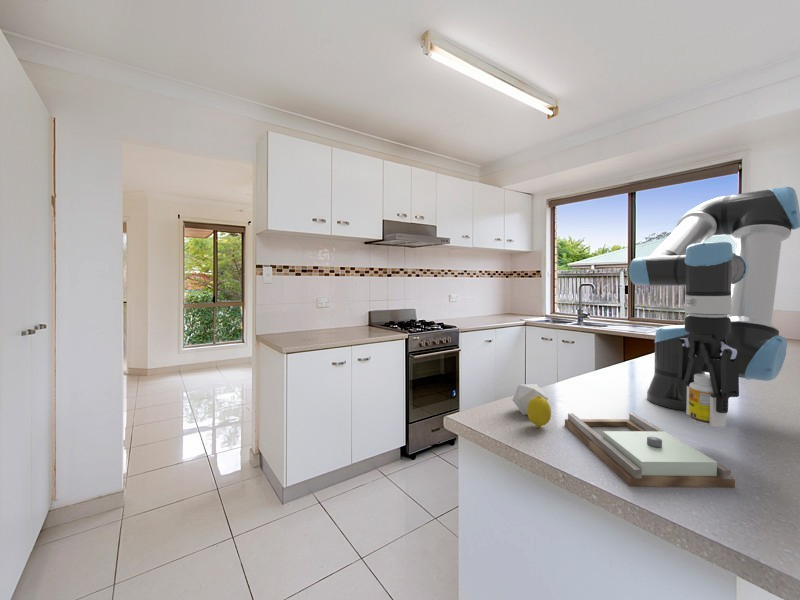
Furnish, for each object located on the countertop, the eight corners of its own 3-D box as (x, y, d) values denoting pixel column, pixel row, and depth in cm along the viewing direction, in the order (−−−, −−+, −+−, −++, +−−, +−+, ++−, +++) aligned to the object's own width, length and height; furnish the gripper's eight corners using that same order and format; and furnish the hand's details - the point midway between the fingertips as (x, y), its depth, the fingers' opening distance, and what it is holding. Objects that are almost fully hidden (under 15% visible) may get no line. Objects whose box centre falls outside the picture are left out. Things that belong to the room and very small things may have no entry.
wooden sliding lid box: (637, 425, 88) (637, 413, 88) (735, 487, 62) (735, 470, 61) (564, 424, 89) (564, 413, 89) (629, 486, 62) (630, 469, 62)
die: (543, 423, 92) (557, 391, 95) (513, 406, 93) (528, 374, 96) (531, 423, 100) (545, 392, 102) (504, 406, 101) (518, 377, 104)
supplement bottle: (688, 414, 81) (689, 371, 80) (721, 420, 77) (722, 374, 77) (688, 423, 77) (689, 376, 76) (723, 429, 73) (724, 381, 72)
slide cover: (664, 442, 75) (664, 425, 75) (716, 475, 62) (717, 455, 62) (602, 442, 76) (602, 425, 76) (641, 475, 63) (642, 455, 63)
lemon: (533, 421, 92) (533, 391, 92) (554, 427, 88) (554, 395, 88) (523, 427, 88) (523, 396, 88) (545, 434, 84) (545, 401, 84)
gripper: (659, 311, 85) (658, 405, 86) (727, 320, 66) (724, 440, 68) (691, 310, 85) (689, 404, 86) (768, 319, 66) (765, 439, 67)
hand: (705, 420), depth 77 cm, fingers closed on supplement bottle, 6 cm apart
